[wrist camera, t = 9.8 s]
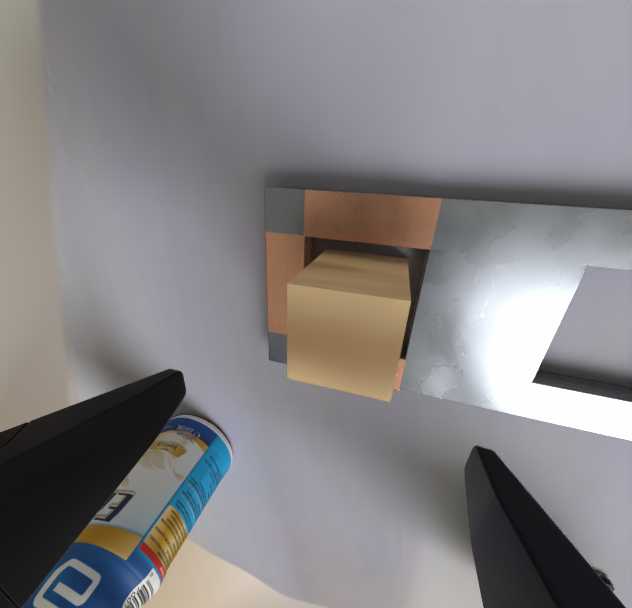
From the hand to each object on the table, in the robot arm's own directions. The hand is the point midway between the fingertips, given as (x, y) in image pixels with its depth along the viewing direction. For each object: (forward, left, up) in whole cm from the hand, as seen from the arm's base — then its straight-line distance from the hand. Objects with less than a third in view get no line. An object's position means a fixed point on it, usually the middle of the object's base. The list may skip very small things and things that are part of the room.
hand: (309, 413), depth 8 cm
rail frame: (0, -7, -11) cm, 13 cm away
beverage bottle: (-20, +15, -11) cm, 27 cm away
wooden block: (0, 0, -11) cm, 11 cm away
